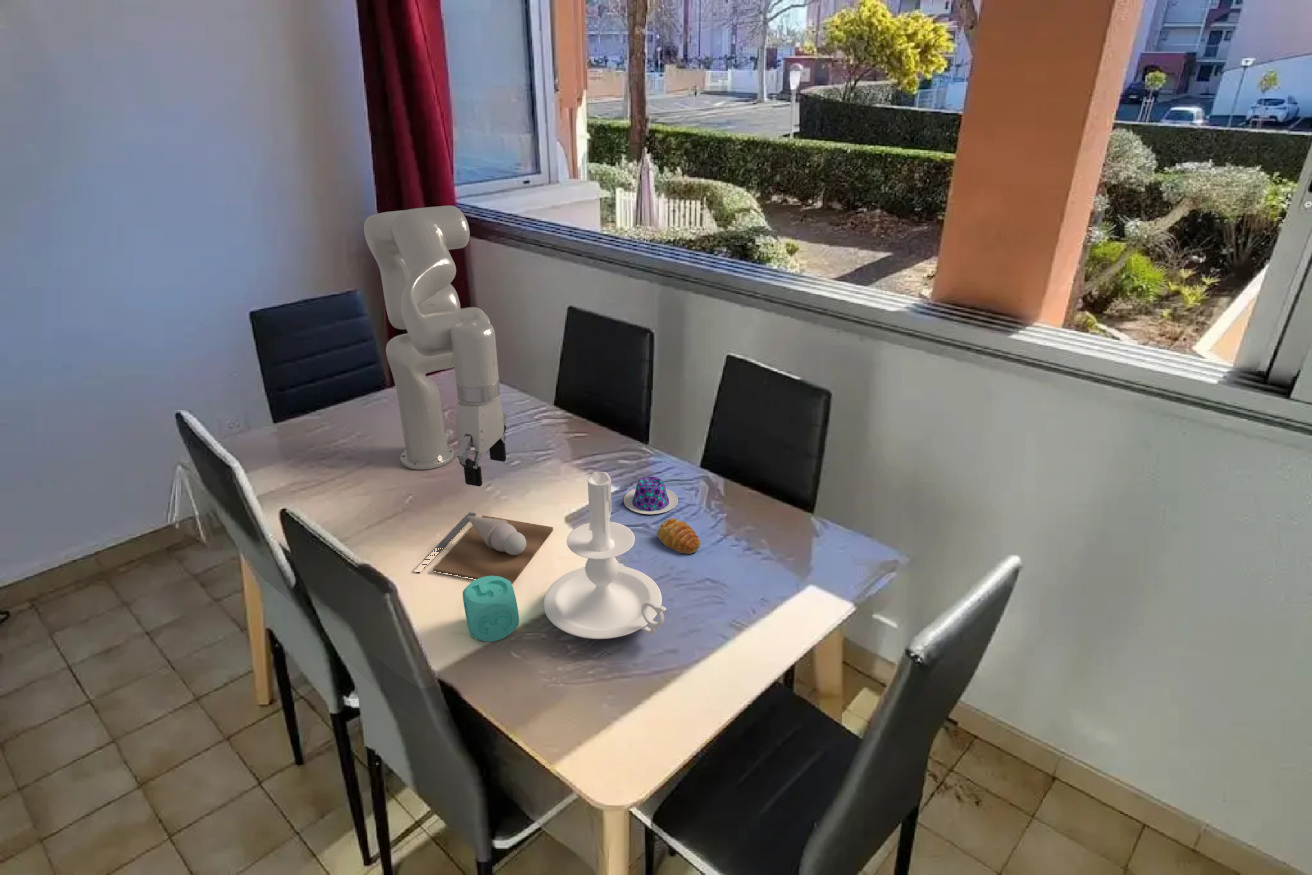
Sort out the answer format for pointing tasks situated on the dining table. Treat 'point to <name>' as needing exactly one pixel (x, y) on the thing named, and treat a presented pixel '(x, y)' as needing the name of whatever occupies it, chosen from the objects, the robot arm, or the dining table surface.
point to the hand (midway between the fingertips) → (486, 472)
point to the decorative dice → (490, 608)
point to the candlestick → (603, 578)
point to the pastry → (678, 536)
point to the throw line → (452, 534)
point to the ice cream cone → (499, 535)
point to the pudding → (650, 497)
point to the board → (492, 554)
